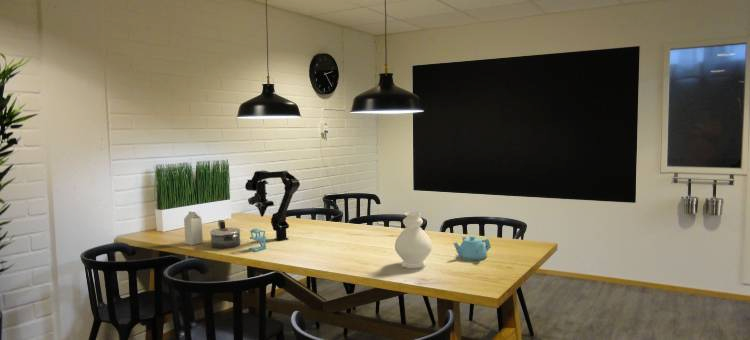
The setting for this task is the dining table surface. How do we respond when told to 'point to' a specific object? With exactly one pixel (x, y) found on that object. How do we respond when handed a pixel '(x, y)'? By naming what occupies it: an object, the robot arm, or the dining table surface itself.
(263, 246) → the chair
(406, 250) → the decorative vase
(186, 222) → the milk carton
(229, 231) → the cooker lid
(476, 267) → the dining table surface
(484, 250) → the teapot
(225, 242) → the cooker pot
